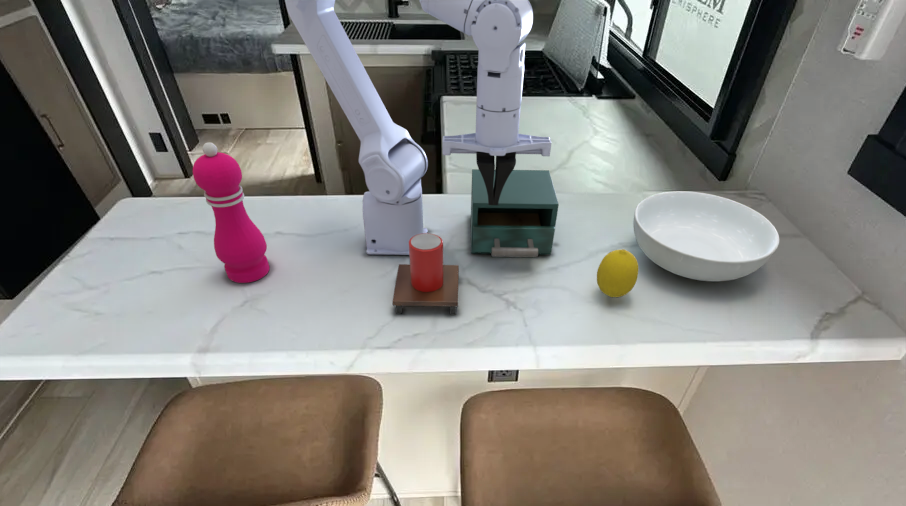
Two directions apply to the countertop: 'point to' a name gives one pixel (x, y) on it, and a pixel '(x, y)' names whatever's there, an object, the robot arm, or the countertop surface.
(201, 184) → the pepper mill
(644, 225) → the serving bowl
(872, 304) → the countertop surface
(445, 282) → the brown square board
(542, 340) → the countertop surface
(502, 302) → the countertop surface
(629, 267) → the lemon
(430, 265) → the can
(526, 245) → the handled drawer
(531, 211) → the teal open box
